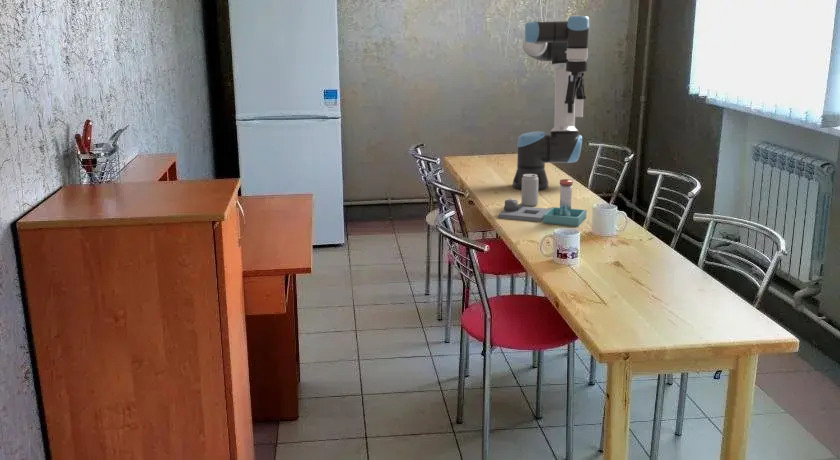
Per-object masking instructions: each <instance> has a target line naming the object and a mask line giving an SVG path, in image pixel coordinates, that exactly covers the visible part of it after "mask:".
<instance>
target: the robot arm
mask: <svg viewBox="0 0 840 460" xmlns="http://www.w3.org/2000/svg"><path fill="white" fill-rule="evenodd" d="M589 32H590V18H589V16H587V15H574V16H573V15H572V16H571V15H570V16H569V17H567V20H566V21H528V22H526V23H525V25H524V40H523V51H524V52H525V53H526V55H528V56H529V57H530V58H532V59H534V60H536V61H537V60H538V61H541V62H542V61H543V62H551V67H552V68H553V69H554V75H555V76H554V121H553V122H554V127H553V128H552V129H551V130H550V134H549V135H548V134H547V133H546V132H545V131H542V130H541V131H531V132H525V133H521V134H520V135H519V136H518V138H517V145H516V147H517V158H516V160H517V163H516V167H517V168H516V172H515V174H514V177H513V180H512V187H513V188H514V189H516V190H517V189H518V190H522V177H523V175H524V174H536V175H538V176H537V177H538V191H539V190H540V191H541V190H545V189H548V188H549V180H548V176H547V173H546V168H545V167H546V165H545V164H548V163H550V164H557V163H559V164H564V163H565V164H568V163H571V164H572V163H576V162H578V160H579V158H580V156H581V151H582V144H583V136H582V135H581V134H579V130H578V129H577V127H576V118H583V117H584V100H586V98H587V96H586V89H585V79H584V78H585V73H584V72H588V61H587V60H588V59H589Z"/></svg>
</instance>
